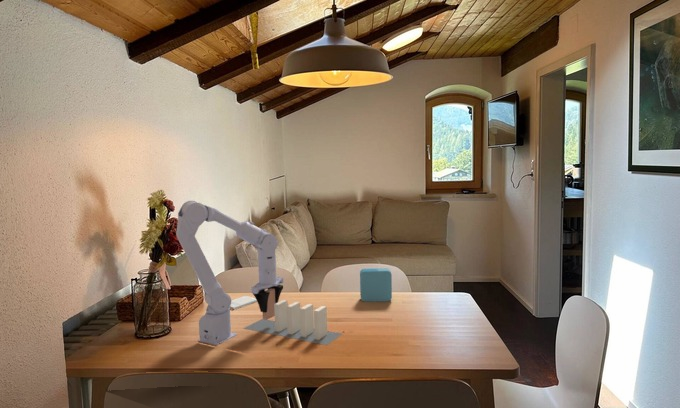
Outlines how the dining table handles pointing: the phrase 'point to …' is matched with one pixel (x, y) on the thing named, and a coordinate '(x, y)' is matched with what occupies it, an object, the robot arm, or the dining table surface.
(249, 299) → the external hard drive
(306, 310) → the domino
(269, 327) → the mat
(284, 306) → the domino
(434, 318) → the dining table surface
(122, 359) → the dining table surface
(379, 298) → the blue rounded slab
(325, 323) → the domino
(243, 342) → the dining table surface
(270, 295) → the domino
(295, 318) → the domino
